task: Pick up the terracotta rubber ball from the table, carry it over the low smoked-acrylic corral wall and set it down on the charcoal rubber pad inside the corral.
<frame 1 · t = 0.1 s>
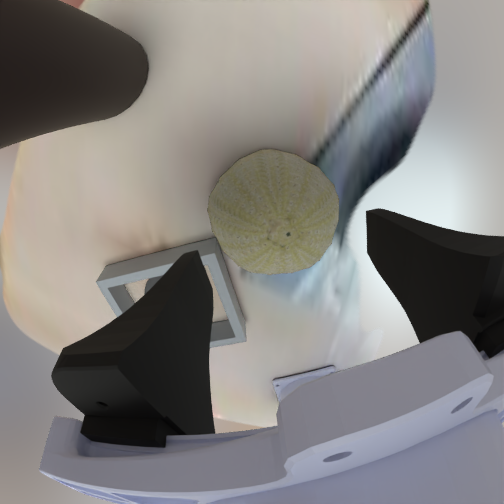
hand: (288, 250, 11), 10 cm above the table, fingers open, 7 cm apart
bottle: (107, 76, 15), on the table
sea urchin shell: (271, 205, 21), on the table
corral: (176, 296, 25), on the table
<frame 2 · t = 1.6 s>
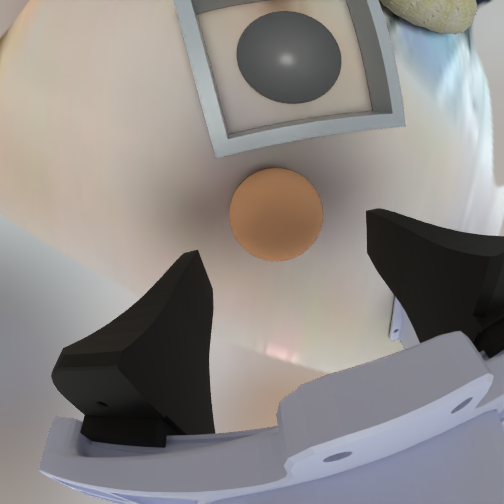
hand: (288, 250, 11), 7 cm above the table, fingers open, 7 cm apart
ball: (270, 199, 17), on the table
corral: (290, 55, 13), on the table
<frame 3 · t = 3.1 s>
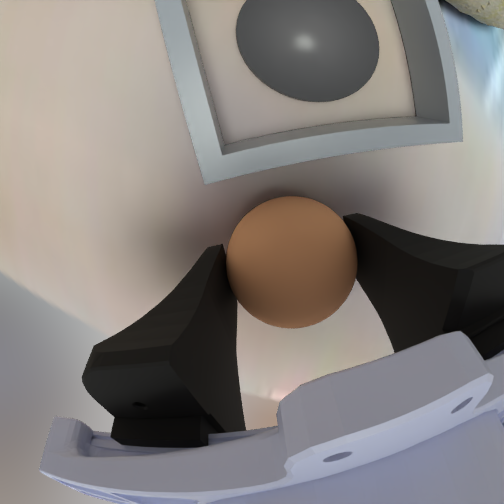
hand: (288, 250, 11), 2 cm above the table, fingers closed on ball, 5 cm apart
ball: (281, 233, 13), on the table, touching gripper
corral: (311, 35, 8), on the table
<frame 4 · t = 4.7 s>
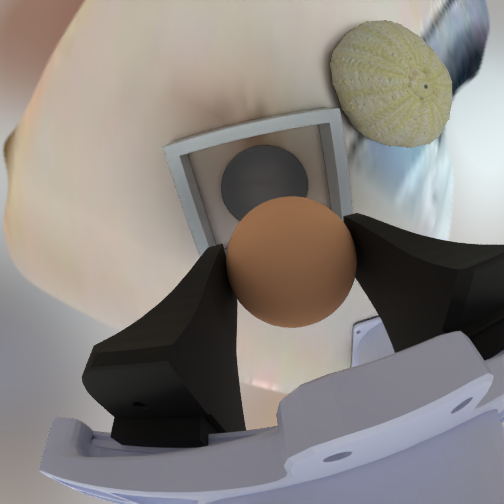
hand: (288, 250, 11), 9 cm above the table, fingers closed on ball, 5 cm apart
ball: (279, 233, 13), point 7 cm above the table, touching gripper
sea urchin shell: (381, 84, 16), on the table
corral: (265, 187, 19), on the table
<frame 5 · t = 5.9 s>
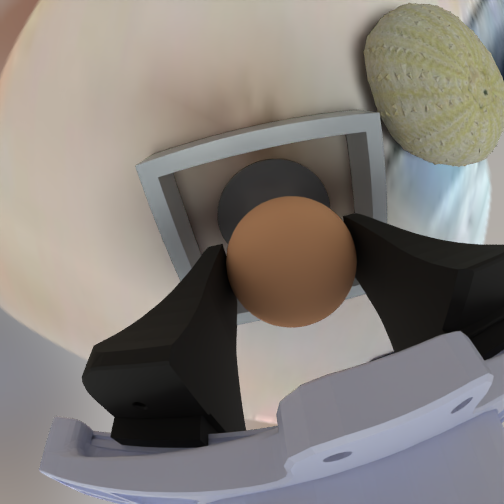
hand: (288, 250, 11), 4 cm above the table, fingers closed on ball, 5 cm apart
ball: (279, 233, 13), point 2 cm above the table, touching gripper
sea urchin shell: (421, 84, 11), on the table
corral: (274, 214, 15), on the table
when the fingers open (4 cm above the table, at t = 6.5 s): ball drops 2 cm, resting on corral.
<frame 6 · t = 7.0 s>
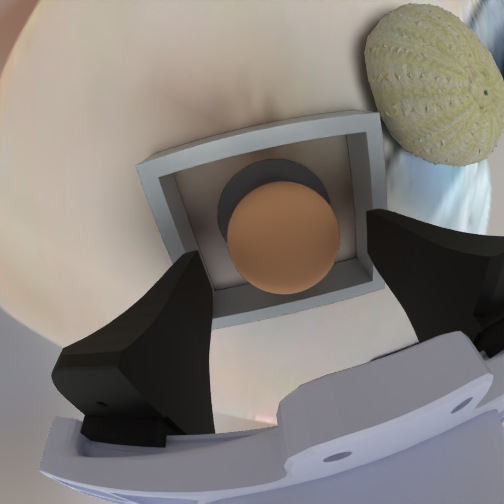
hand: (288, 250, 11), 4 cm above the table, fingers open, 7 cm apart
ball: (274, 216, 15), resting on corral
sea urchin shell: (421, 84, 11), on the table
corral: (274, 214, 15), on the table
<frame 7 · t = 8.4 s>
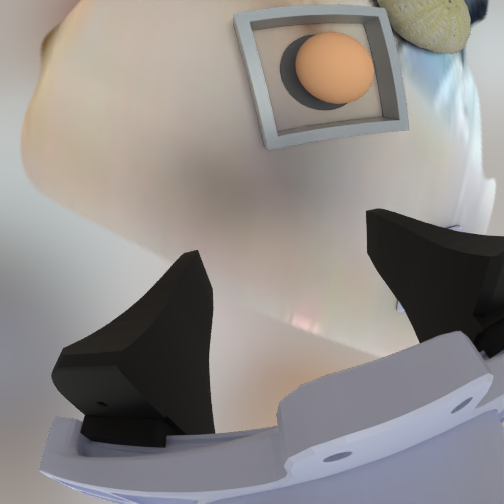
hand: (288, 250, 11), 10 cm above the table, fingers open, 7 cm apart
ball: (321, 71, 16), resting on corral
sea urchin shell: (411, 9, 13), on the table
corral: (321, 71, 16), on the table
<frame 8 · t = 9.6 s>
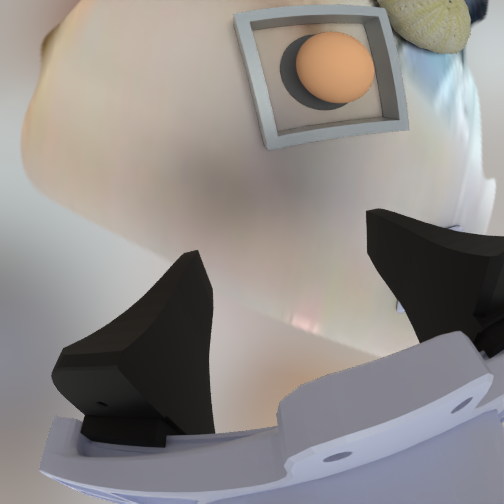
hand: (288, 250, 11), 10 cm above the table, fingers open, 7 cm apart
ball: (321, 71, 16), resting on corral
sea urchin shell: (412, 9, 13), on the table
corral: (321, 71, 16), on the table
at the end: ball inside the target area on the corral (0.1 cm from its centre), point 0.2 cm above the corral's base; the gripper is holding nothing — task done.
